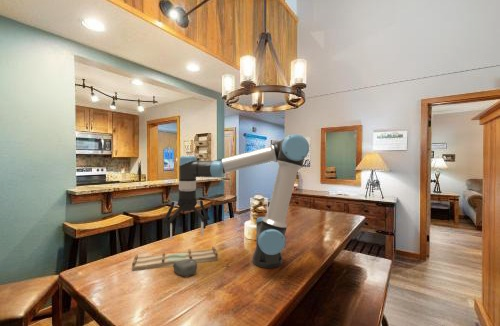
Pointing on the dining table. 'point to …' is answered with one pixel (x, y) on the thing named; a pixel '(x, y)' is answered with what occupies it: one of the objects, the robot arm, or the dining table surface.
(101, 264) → the dining table surface
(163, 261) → the ledge
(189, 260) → the stone
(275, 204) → the robot arm
